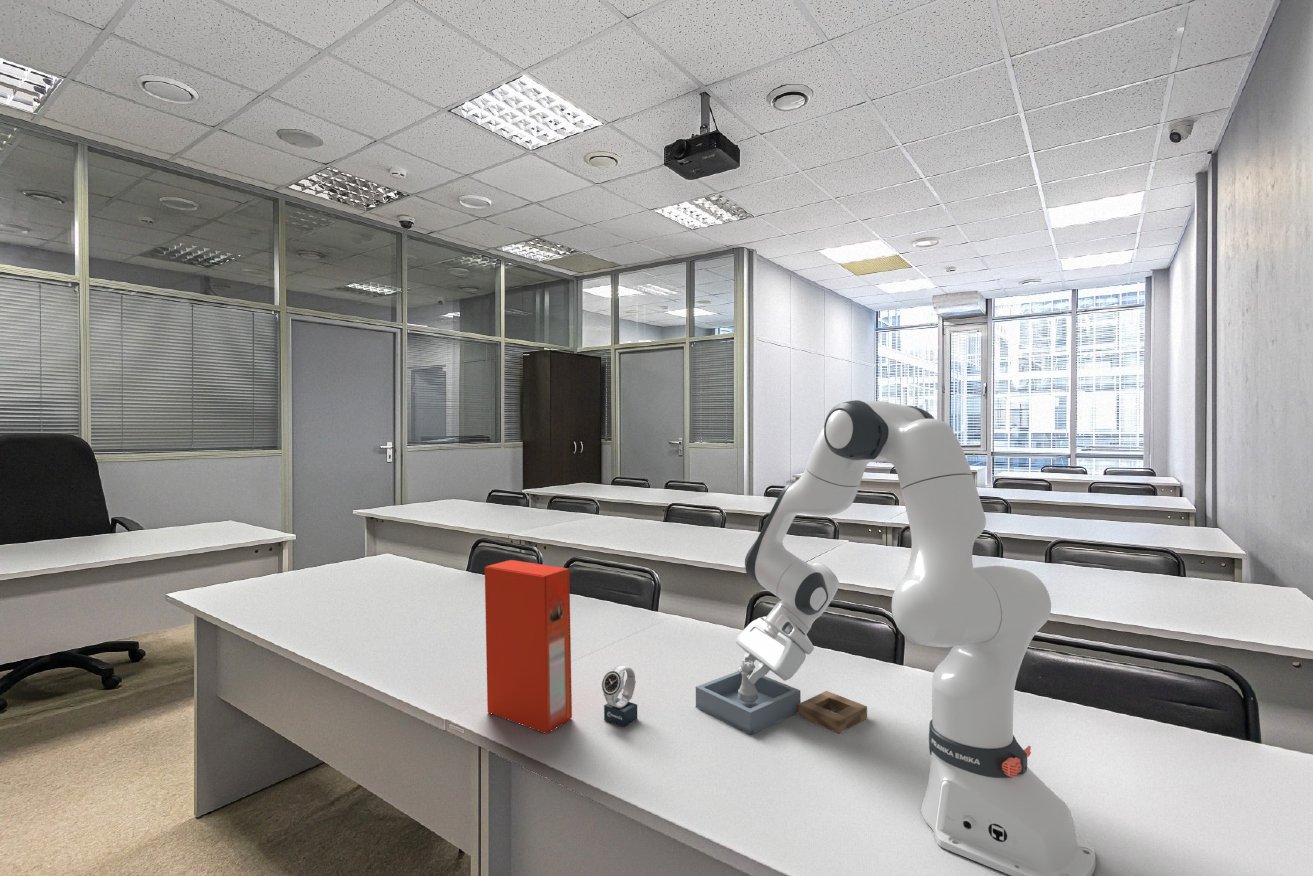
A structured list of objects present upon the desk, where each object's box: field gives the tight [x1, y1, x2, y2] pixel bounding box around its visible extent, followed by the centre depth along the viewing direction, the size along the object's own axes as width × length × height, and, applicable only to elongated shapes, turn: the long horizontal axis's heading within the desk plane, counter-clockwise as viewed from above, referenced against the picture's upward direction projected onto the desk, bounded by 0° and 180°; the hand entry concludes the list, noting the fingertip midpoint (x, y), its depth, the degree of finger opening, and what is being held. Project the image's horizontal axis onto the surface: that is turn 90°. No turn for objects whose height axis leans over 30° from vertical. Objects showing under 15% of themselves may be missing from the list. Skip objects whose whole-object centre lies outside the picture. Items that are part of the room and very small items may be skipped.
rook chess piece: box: [738, 660, 758, 703], centre depth 131 cm, size 4×4×8 cm
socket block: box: [798, 690, 868, 734], centre depth 128 cm, size 10×10×2 cm
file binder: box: [484, 559, 573, 734], centre depth 129 cm, size 8×17×32 cm, turn 57°
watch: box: [601, 664, 638, 728], centre depth 127 cm, size 6×8×11 cm
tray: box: [695, 670, 802, 736], centre depth 131 cm, size 16×16×4 cm
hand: (745, 677), depth 131 cm, fingers closed on rook chess piece, 3 cm apart
